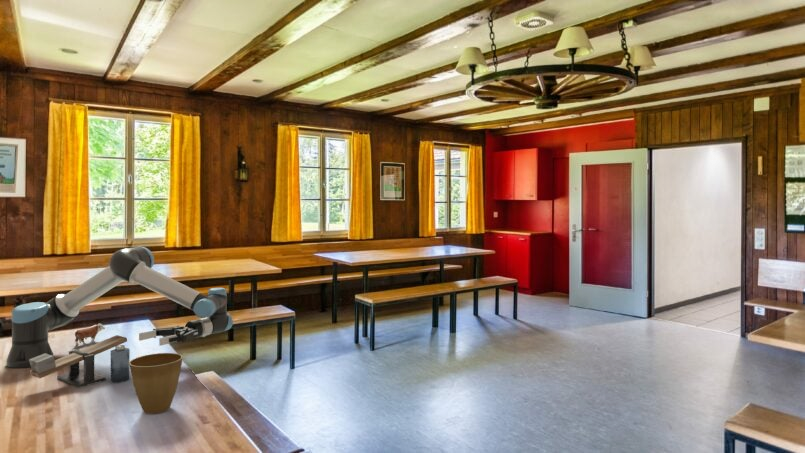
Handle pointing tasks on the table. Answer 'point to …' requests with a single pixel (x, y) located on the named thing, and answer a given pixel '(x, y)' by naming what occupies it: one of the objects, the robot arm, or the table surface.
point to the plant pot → (156, 380)
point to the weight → (120, 364)
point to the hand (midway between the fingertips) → (149, 339)
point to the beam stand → (82, 373)
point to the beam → (70, 357)
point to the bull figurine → (88, 333)
